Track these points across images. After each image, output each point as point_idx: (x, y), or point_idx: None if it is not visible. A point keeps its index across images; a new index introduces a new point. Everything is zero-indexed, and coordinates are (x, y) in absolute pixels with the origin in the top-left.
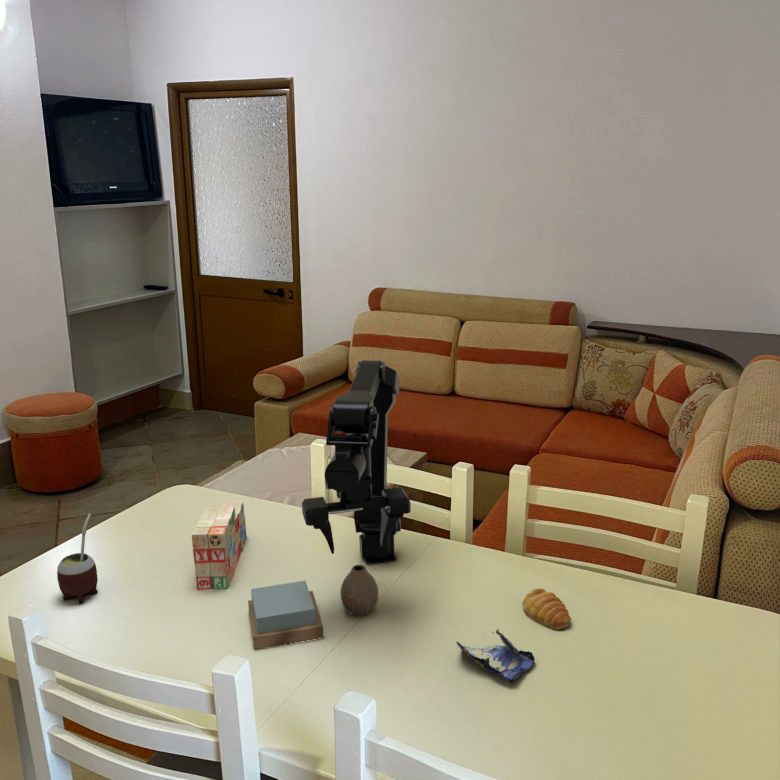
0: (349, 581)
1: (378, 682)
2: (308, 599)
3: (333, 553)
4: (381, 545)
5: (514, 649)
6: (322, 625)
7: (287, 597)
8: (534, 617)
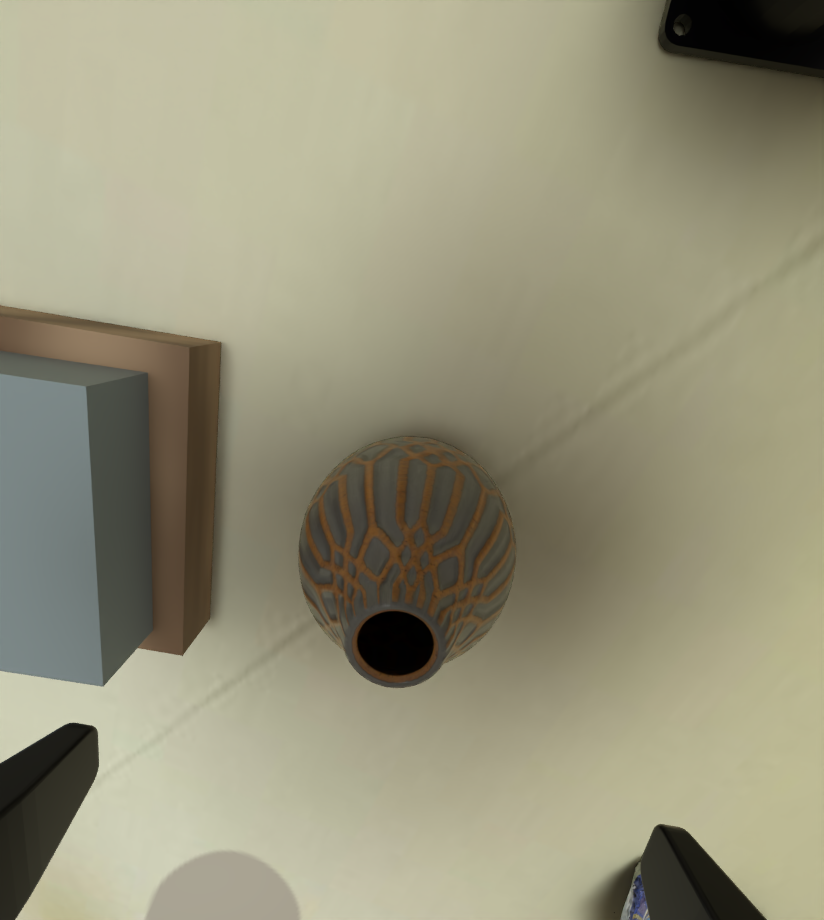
0: (323, 622)
1: (321, 866)
2: (80, 597)
3: (89, 778)
4: (648, 859)
5: None
6: (180, 649)
7: None
8: None
